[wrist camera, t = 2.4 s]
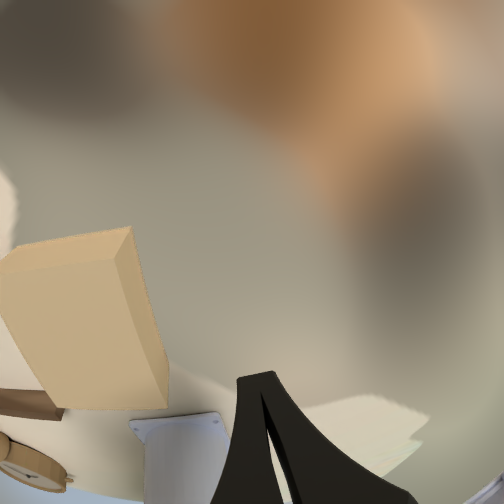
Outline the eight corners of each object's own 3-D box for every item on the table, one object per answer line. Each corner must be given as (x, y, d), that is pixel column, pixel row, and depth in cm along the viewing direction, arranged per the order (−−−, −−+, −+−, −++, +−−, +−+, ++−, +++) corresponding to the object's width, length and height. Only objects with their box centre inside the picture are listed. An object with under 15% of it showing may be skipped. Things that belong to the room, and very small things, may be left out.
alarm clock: (54, 496, 24) (-34, 460, 16) (53, 469, 28) (-31, 432, 20) (79, 489, 23) (-30, 446, 14) (78, 456, 27) (-25, 412, 18)
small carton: (169, 363, 19) (167, 408, 16) (70, 367, 18) (57, 407, 14) (132, 225, 15) (114, 257, 11) (17, 245, 14) (-16, 276, 10)
